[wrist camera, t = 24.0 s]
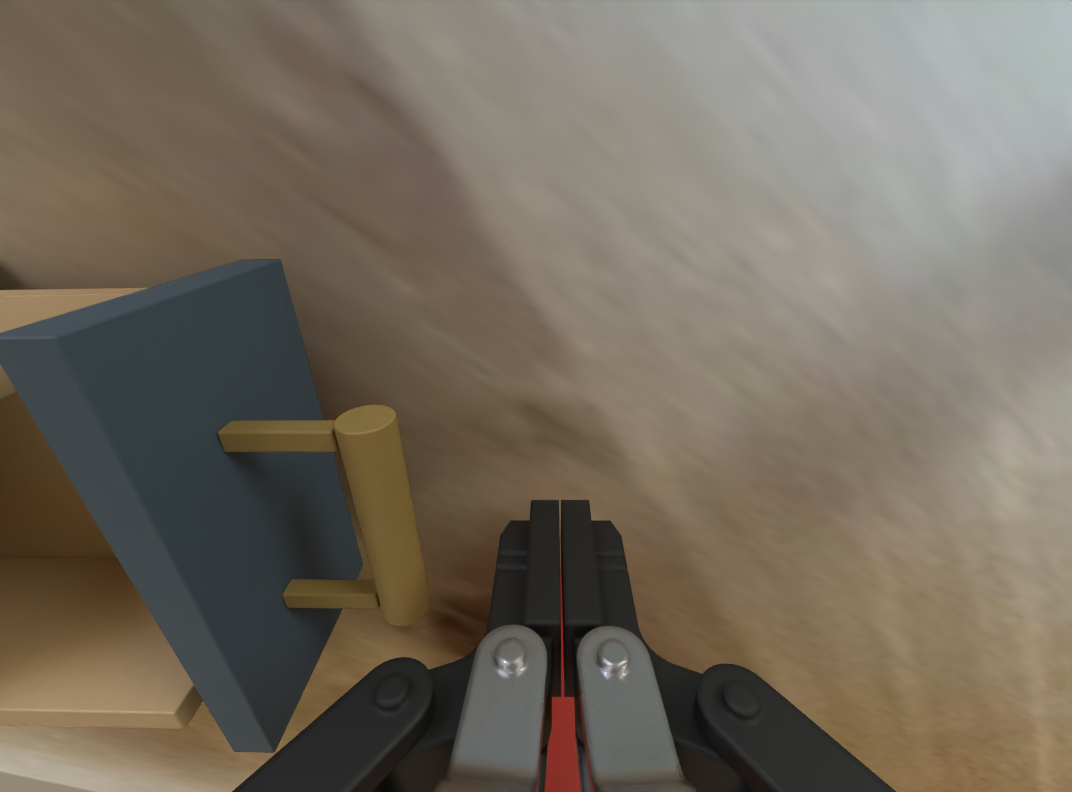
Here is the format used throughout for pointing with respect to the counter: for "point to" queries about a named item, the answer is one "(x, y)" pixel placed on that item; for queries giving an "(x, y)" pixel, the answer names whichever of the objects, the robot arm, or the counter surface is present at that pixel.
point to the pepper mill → (562, 739)
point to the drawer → (183, 507)
